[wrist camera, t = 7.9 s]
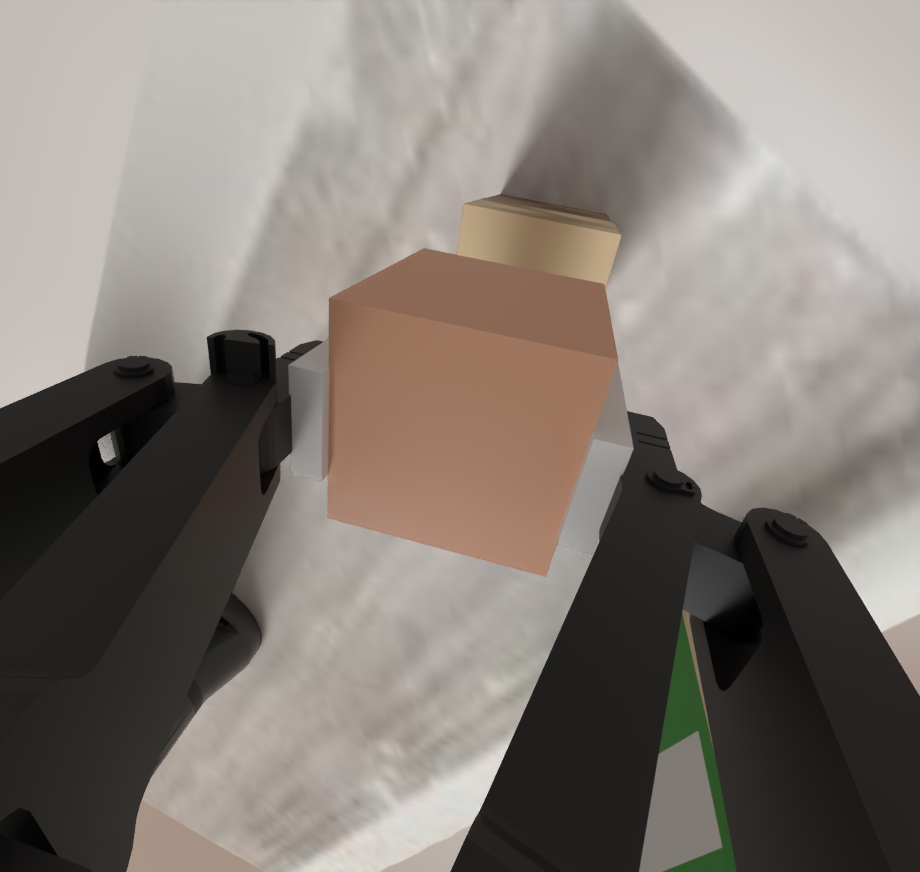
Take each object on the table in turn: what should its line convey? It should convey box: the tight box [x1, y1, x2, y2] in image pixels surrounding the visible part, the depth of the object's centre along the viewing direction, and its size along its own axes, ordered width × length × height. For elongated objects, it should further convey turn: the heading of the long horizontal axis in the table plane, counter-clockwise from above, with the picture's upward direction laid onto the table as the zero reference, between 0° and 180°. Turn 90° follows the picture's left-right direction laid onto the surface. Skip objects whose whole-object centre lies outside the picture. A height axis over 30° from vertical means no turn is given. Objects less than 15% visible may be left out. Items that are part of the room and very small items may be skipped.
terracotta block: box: [328, 249, 618, 577], centre depth 13 cm, size 6×6×6 cm
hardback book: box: [639, 610, 737, 872], centre depth 37 cm, size 18×7×24 cm, turn 152°
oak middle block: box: [456, 198, 622, 288], centre depth 26 cm, size 7×7×6 cm
